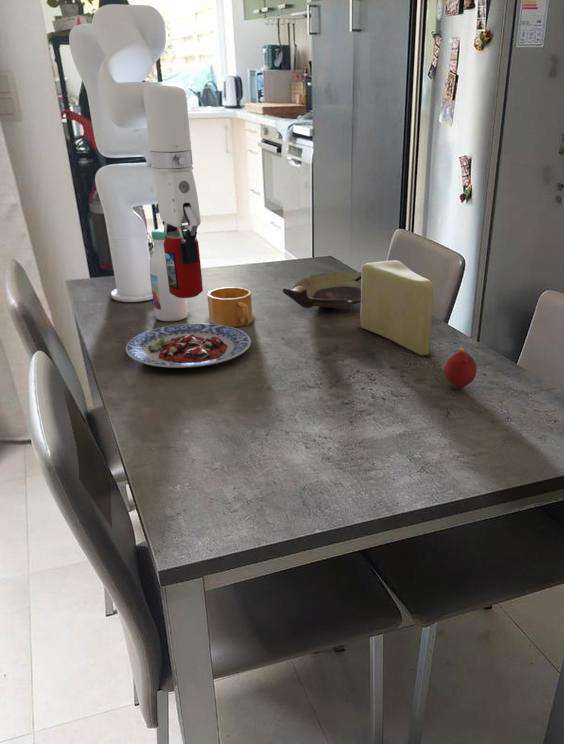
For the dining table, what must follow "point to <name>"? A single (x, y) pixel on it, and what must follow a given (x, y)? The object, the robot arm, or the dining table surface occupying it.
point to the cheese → (397, 304)
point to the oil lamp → (327, 290)
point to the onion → (460, 369)
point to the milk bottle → (164, 284)
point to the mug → (230, 306)
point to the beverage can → (181, 269)
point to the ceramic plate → (188, 345)
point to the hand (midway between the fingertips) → (182, 258)
